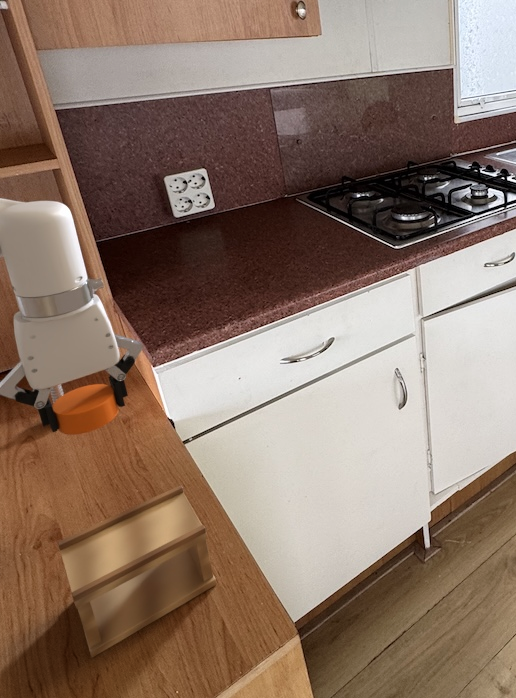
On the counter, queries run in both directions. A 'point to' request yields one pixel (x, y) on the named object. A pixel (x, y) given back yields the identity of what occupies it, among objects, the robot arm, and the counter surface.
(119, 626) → the gold metallic block
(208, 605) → the counter surface
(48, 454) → the counter surface
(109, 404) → the puck
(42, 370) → the robot arm
